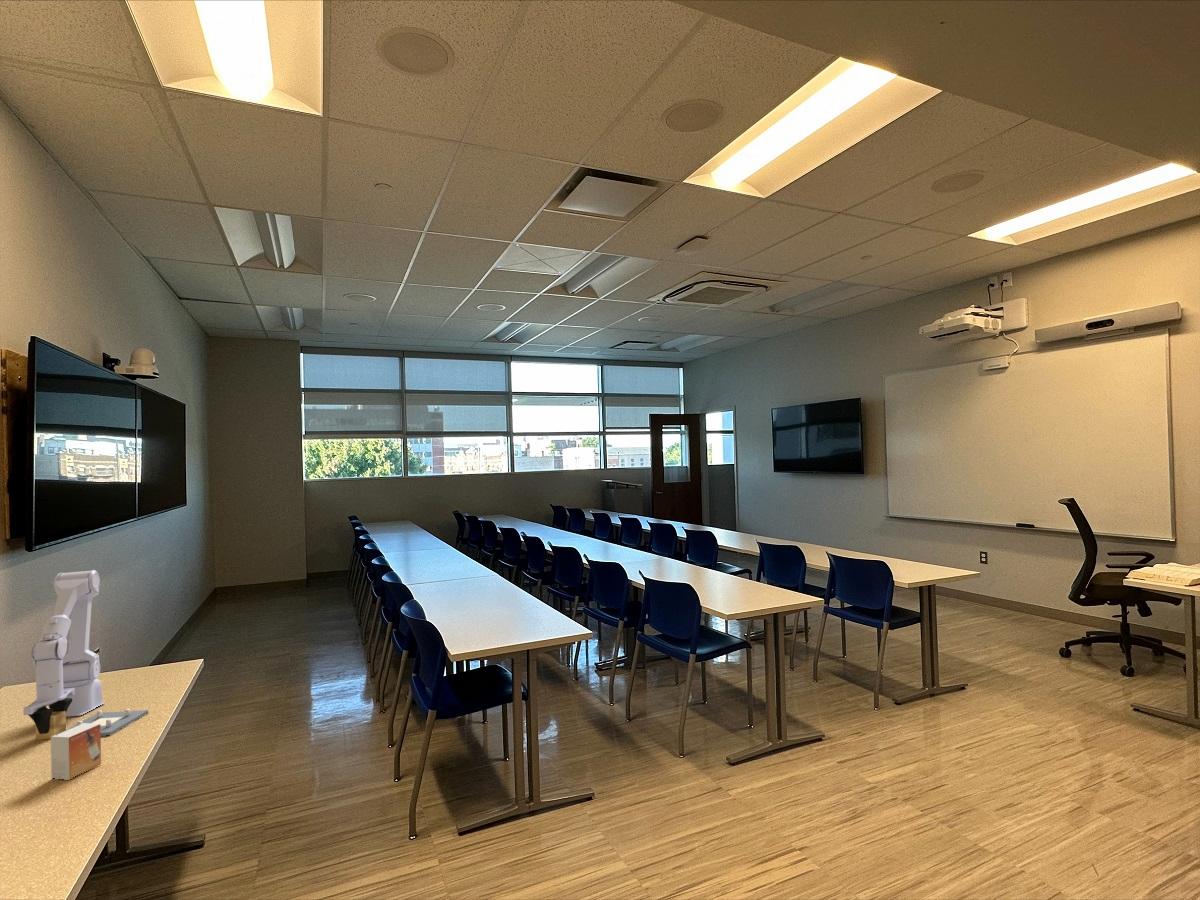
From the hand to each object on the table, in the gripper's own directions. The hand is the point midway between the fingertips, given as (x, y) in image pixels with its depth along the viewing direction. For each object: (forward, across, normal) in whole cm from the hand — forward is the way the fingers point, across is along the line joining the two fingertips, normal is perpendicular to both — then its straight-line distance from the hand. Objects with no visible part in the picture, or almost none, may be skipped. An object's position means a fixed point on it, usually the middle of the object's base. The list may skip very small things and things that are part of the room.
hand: (51, 729), depth 171 cm
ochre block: (+2, 0, 0) cm, 2 cm away
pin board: (+2, +5, -11) cm, 12 cm away
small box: (+2, -23, -26) cm, 35 cm away
